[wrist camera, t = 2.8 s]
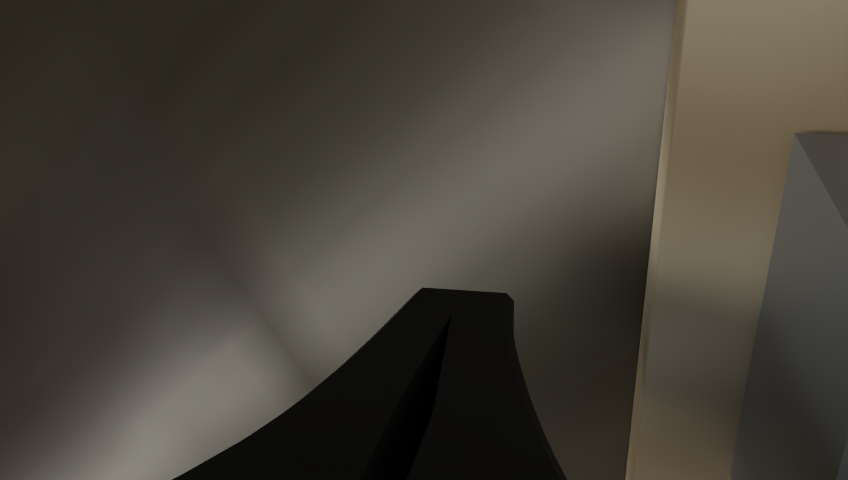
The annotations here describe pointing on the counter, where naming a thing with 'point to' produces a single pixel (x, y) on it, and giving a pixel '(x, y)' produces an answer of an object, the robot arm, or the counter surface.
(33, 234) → the counter surface
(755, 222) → the wooden cutting board
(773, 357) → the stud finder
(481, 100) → the counter surface
